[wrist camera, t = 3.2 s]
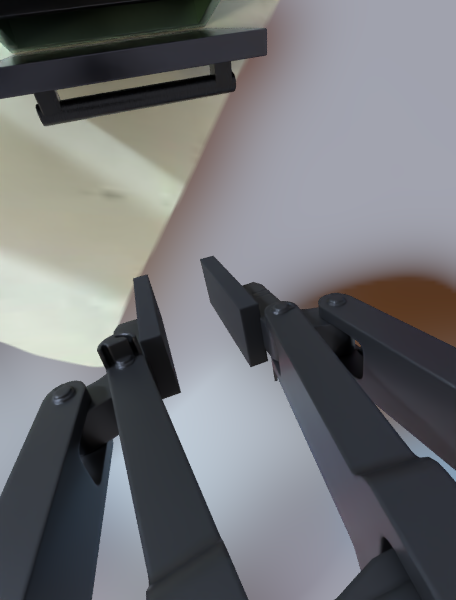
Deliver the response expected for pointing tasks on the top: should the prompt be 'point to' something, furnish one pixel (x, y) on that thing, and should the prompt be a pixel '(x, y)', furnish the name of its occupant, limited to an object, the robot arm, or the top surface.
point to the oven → (93, 20)
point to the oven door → (129, 71)
